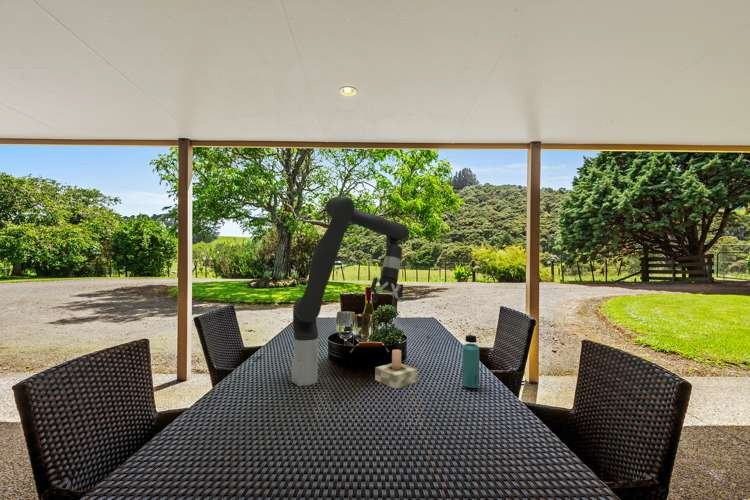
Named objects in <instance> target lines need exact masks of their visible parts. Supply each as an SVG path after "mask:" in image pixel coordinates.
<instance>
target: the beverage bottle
mask: <svg viewBox="0 0 750 500" xmlns="http://www.w3.org/2000/svg"><path fill="white" fill-rule="evenodd" d="M464 341H465V342H466V343H465V344H464V345H463V346H462V366H461V367H462V371H461V374H462V375H461V383H462V385H463V386H464V387H467V388H478V387H479V386H480V381H481V380H480V347H479V345H477V344H475V343H477V341H478V340H477V336H476V335H472V334H468V335H466V336H465V340H464Z"/></svg>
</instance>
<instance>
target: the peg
mask: <svg viewBox="0 0 750 500" xmlns="http://www.w3.org/2000/svg"><path fill="white" fill-rule="evenodd" d="M391 363H392V370H395V371H398V370H401V363H402V350H401V349H392V352H391Z"/></svg>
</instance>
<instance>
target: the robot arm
mask: <svg viewBox="0 0 750 500" xmlns="http://www.w3.org/2000/svg"><path fill="white" fill-rule="evenodd" d="M325 211H326V213H327V215H328V216H329V217H330V218H331V219H330V222H329V226H328V227H327V229H326V231H325V232H324V234H323V235H322V237H320V239H319V241H318V242H317V244H316V246H315V247H314V251H313V253H312V257H311V261H310V263H309V270H308V279H307V284H306V288H305V290H304V293H303V295H302V296H300V297H298V298H297V299H296V300H295V301H294V304H293V307H292V318H293V319H292V327H293V328H292V329H293V357H291V374H290V375H291V383H293V384H294V385H296V386H298V387H302V386H311V385H314V384H316V383H318V377H319V376H318V373H319V372H318V371H319V370H318V367H319V366H318V365H319V364H318V361H319V360H318V359H319V356H318V355H319V354H318V353H319V330H318V327H317V318H318V317H319V315H320V313H321V310H322V304H323V300H324V295H325V291H326V288H327V286H328V283H329V280H330V277H331V275H332V272H333V269H334V267H335V263H336V261H337V258H338V254H339V252H340V251H339V250H340V248H341V246H342V245H341V244H342V242H343V239H344V236H345V233H346V231H347V229H348V227H349V224H350V223H352V224H354V225H357V226H359V227H362V228H365V229H367V230H369V231H370V232H374V233H376V234H378V235H382V236H385V240H386V241H385V242H386V251H385V256H384V259H383V263H382V268H381V273H380V278H378V277H373V278H372V281H371V284H370V285H371V286H370V292H372V293H373V295H372V301H373V303H377V302H378V298H379V293H380V292H381V291H386V292H389V293H390V294H391V295H392V297H393V298H392V299H391V305H390V306H391V307H392V308H395V307H396V306H397V302H398V299H402V298H403V292H404V284H402V283H398V279H399V274H400V267H401V259H402V255H403V248H402V247H401V245H399V241H404V240H407V238H409V234H410V231H409V228H408V226H406V225H404V224H403V223H399V222H396V221H392V220H388V219H386V218H385V217H382V216H379V215H378V214H373V213H370V212H367V211H363V210H360V209H357V208H355V202H354V201H353V199H352V198H351V197H349V196H344V195H343V196H334V197H331V198H330V199H328V200H327V202H326V204H325ZM377 284H379V286H378V287H377ZM376 287H377V288H376ZM396 288H397V289H396Z"/></svg>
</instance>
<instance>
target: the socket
mask: <svg viewBox="0 0 750 500" xmlns="http://www.w3.org/2000/svg"><path fill="white" fill-rule="evenodd" d="M418 379H419V368H415V367H413V366H410V365H407V364H404V363H402V362H401V370H398V371H395V370H392V362H391V363H388V364H384V365H380V366H379V365H378V366H376V367H375V368H374V381H376V382H379V383H381V384H384V385H386V386H388V387H390V388H392V389H395V390H396V389H400V388H402V387H406V386H409V385H413V384H415V383H418V382H419V380H418Z"/></svg>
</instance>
